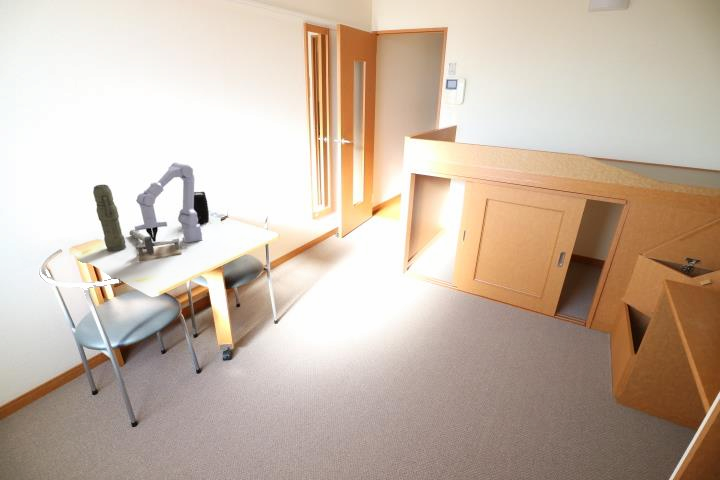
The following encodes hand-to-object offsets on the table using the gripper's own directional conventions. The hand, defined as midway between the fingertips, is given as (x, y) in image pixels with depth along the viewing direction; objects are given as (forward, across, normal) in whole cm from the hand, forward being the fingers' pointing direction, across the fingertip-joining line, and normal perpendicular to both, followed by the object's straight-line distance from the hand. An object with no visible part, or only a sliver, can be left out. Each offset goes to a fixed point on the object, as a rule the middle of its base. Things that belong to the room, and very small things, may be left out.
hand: (154, 240), depth 191 cm
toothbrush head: (+8, +6, -21) cm, 23 cm away
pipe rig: (+7, -2, 0) cm, 8 cm away
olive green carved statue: (+8, +18, -17) cm, 26 cm away
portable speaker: (+8, -30, -38) cm, 49 cm away
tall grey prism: (+5, +3, 0) cm, 6 cm away
